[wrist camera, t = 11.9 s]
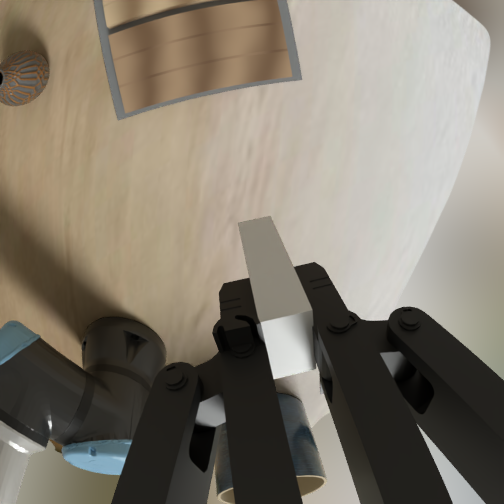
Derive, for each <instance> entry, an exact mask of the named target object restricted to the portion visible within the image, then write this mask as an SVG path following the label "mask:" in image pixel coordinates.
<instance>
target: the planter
mask: <svg viewBox="0 0 504 504" xmlns="http://www.w3.org/2000/svg"><path fill="white" fill-rule="evenodd" d="M277 396H278V400H279V404H280V409H281V413H282V417H283V422H284V426H285V430H286V435H287V439H288V443H289V447H290V452H291V456H292V460H293V464H294V468H295V473H296V477H297V481H298V485H299V490H300V494H301V497H302V496H305V495H308V494H310V493H312V492H314V491H316V490H318V489H320V488H321V487H323V486H324V485H325V484H326V482H327V478H326V475H325V471H324V468H323V465H322V461H321V458H320V455H319V452H318V448H317V445H316V442H315V439H314V436H313V433H312V430H311V427H310V424H309V421H308V418H307V415H306V412H305V408H304V406H303V404H302V402H301V401H300V400H299V399H297V398H295V397H293V396H291V395H287V394H282V393H277ZM215 478H216V491H217V499H218V500H219V501H221V502H224V503H227V504H235V499H234V491H233V483H232V475H231V466H230V457H229V448H228V439H227V429H226V422H225V423H222V427H221V433H220V438H219V443H218V448H217V453H216V458H215Z"/></svg>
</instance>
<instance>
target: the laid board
mask: <svg viewBox="0 0 504 504" xmlns="http://www.w3.org/2000/svg"><path fill="white" fill-rule="evenodd" d="M108 37H109V42H110V47H111V52H112V57H113V62H114V67H115V71H116V76H117V81H118V85H119V89H120V94H121V98H122V102H123V106H124V110H125V114H126V113H129V112H132V111H135V110H138V109H142V108H145V107H148V106H151V105H155V104H158V103H162V102H165V101H169V100H173V99H176V98H180V97H184V96H188V95H192V94H197V93H201V92H205V91H210V90H214V89H219V88H224V87H229V86H234V85H240V84H246V83H252V82H258V81H264V80H271V79H279V78H287V77H292V71H291V66H290V60H289V55H288V49H287V44H286V39H285V34H284V29H283V25H282V20H281V15H280V10H279V6H278V1H277V0H254V1H245V2H238V3H231V4H224V5H218V6H213V7H207V8H202V9H197V10H193V11H188V12H184V13H179V14H175V15H171V16H168V17H164V18H160V19H157V20H153V21H150V22H147V23H143V24H140V25H137V26H134V27H131V28H128V29H125V30H122V31H119V32H117V33H114V34H111V35H109V36H108Z"/></svg>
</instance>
